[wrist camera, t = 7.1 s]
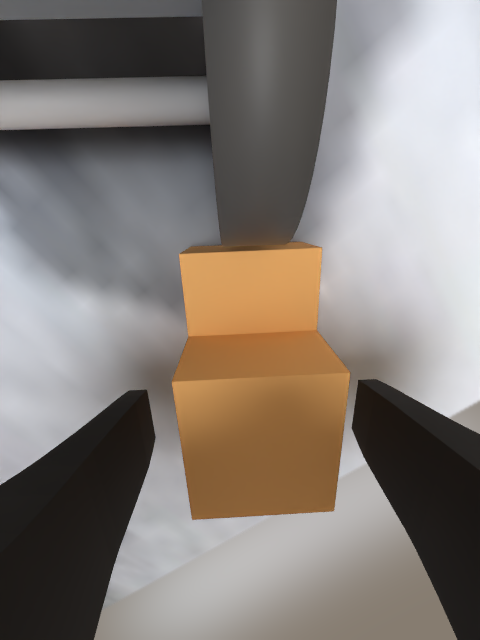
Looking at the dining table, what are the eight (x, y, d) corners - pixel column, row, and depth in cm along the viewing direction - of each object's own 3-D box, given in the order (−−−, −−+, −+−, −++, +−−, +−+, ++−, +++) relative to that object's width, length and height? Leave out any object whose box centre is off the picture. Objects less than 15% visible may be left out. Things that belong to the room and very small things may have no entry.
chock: (294, 400, 12) (333, 511, 8) (207, 404, 12) (192, 519, 7) (300, 241, 10) (363, 259, 5) (191, 246, 10) (155, 268, 5)
